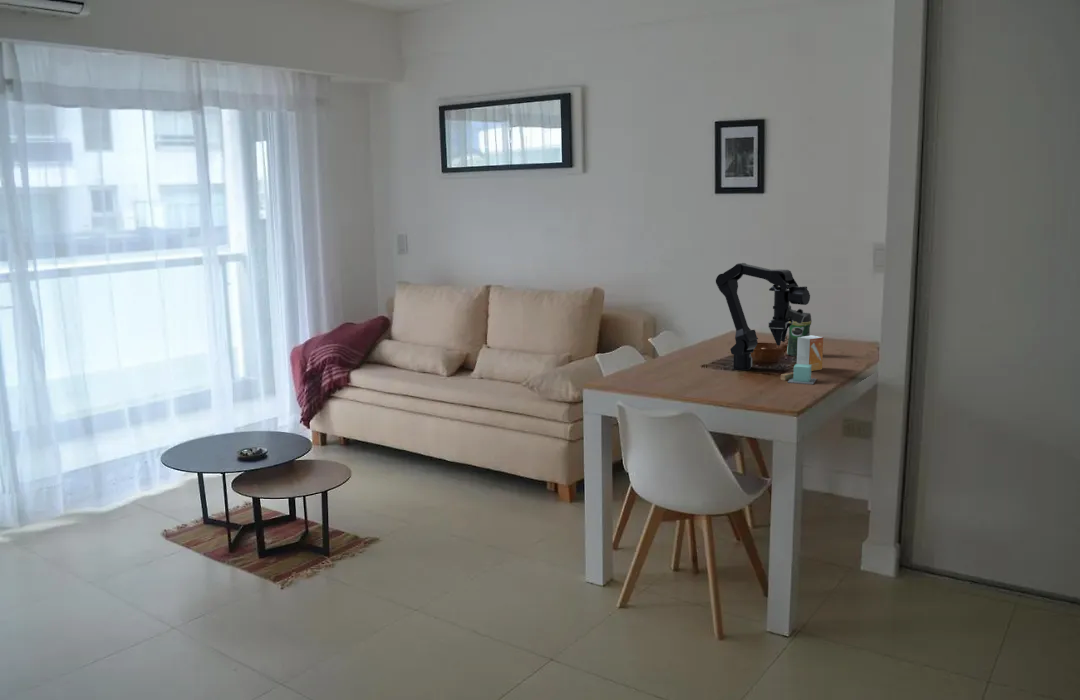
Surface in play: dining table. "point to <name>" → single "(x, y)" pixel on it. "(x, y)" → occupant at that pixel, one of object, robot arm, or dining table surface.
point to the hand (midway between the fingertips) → (780, 343)
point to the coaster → (802, 382)
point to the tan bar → (787, 376)
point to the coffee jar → (798, 333)
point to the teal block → (802, 373)
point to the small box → (810, 351)
